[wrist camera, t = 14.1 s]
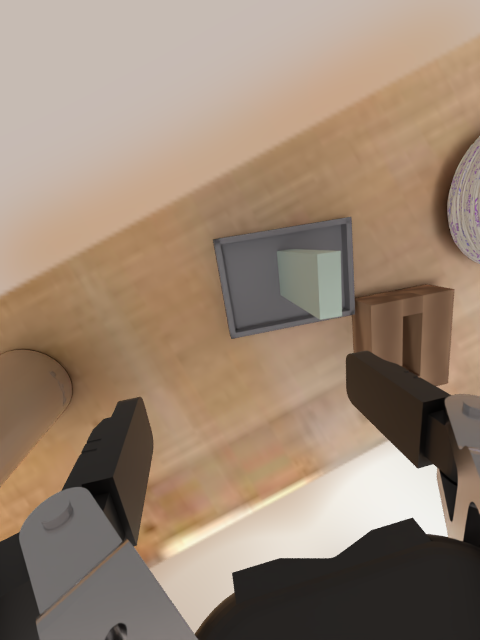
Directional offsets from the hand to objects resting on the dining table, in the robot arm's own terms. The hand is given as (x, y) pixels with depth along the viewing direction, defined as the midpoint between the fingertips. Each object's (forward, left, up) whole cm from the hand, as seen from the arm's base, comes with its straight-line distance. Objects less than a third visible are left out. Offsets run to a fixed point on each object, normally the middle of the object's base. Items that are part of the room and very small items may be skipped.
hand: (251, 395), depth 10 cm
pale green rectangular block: (+8, +1, -21) cm, 23 cm away
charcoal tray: (+8, +1, -22) cm, 23 cm away
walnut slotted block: (+21, -9, -22) cm, 31 cm away
